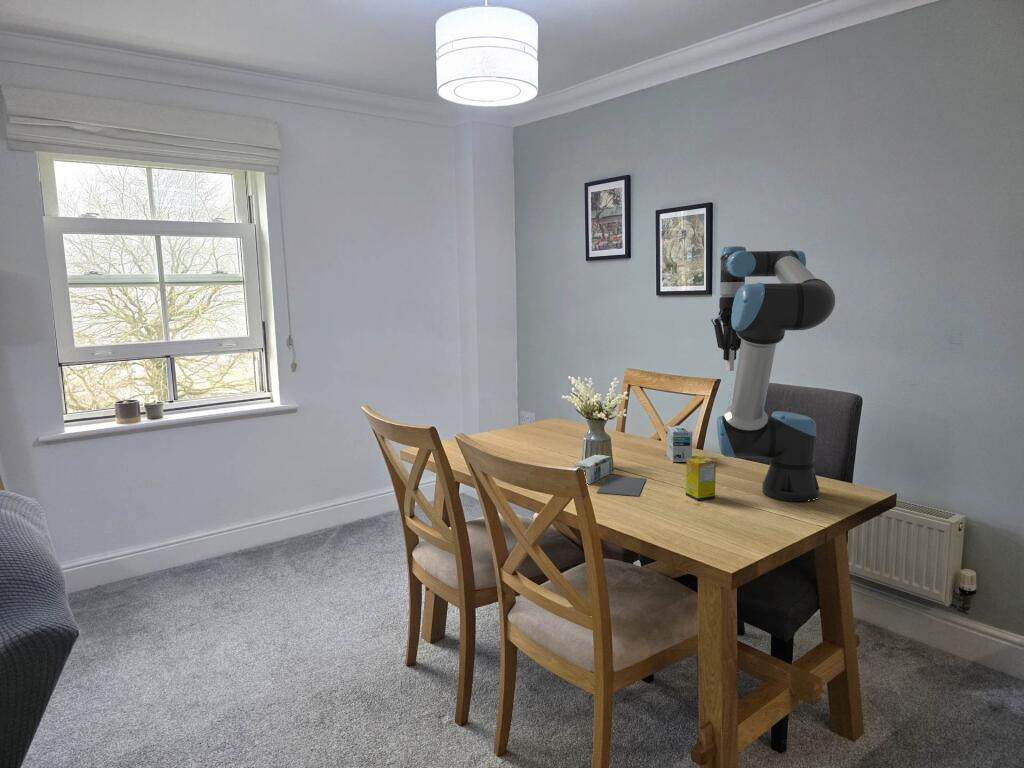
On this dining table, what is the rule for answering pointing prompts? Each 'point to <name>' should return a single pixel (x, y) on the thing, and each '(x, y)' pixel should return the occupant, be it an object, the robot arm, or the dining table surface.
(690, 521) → the dining table surface
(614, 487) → the mat
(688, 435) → the light bulb box
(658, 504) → the dining table surface
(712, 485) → the supplement box
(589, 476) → the syrup box
